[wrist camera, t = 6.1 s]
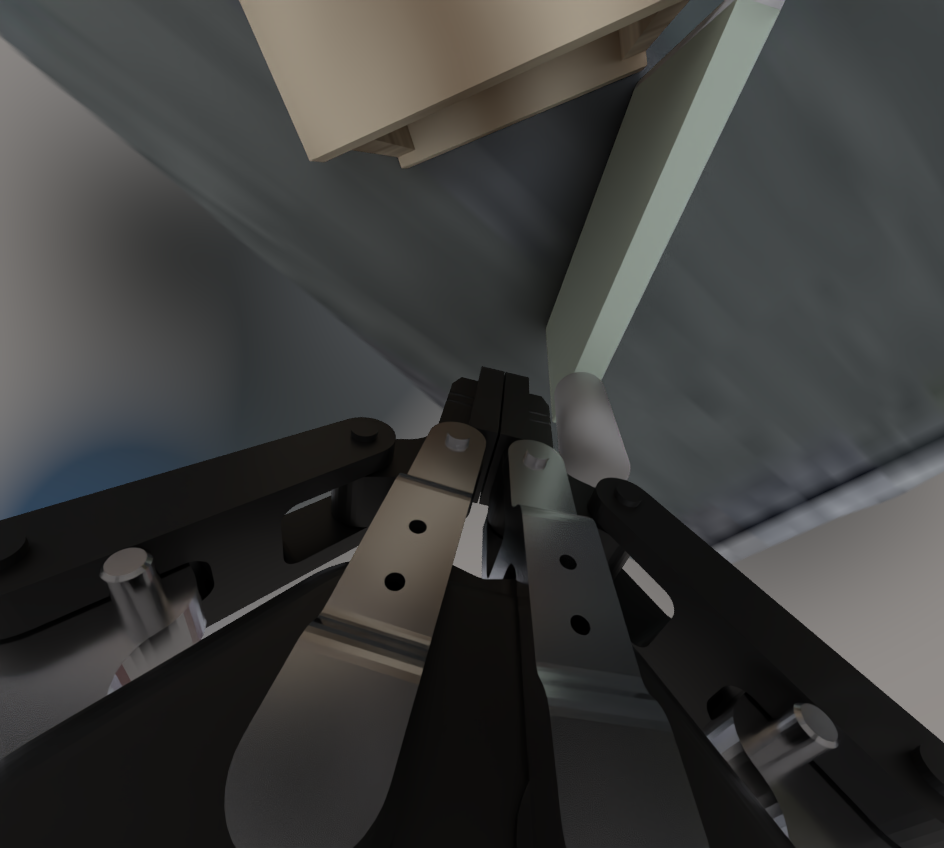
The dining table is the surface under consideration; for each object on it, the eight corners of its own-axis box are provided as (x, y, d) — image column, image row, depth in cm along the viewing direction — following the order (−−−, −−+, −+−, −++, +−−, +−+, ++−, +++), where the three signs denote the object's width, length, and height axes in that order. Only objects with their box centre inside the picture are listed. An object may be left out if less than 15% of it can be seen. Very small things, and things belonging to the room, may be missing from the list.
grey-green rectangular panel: (631, 70, 18) (897, -225, 5) (669, 82, 18) (1034, -179, 5) (539, 326, 25) (545, 498, 11) (567, 335, 25) (604, 515, 12)
